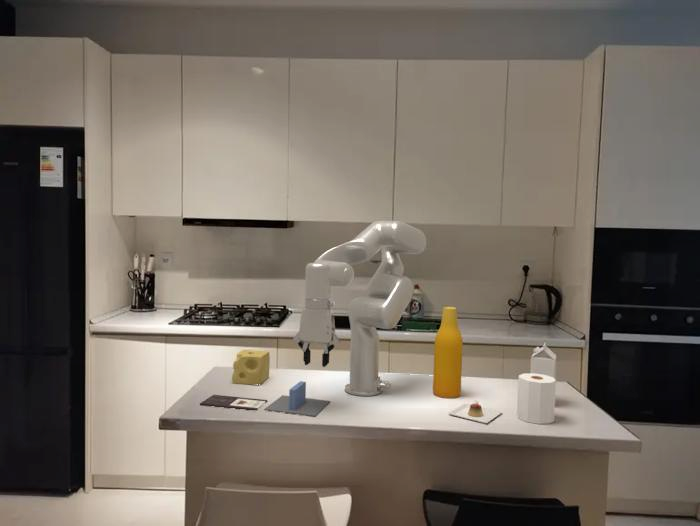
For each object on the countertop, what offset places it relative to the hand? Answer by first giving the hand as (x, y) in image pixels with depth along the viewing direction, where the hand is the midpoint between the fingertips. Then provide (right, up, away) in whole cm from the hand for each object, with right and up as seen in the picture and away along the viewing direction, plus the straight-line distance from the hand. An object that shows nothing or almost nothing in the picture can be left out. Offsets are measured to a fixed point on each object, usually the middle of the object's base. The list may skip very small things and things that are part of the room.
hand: (316, 364), depth 159 cm
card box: (-6, -13, +2) cm, 14 cm away
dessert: (+47, -15, -1) cm, 50 cm away
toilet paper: (+65, -15, -2) cm, 66 cm away
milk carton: (+72, -15, +12) cm, 74 cm away
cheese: (-24, -11, +28) cm, 39 cm away
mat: (-6, -13, +2) cm, 14 cm away
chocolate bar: (-25, -13, +3) cm, 29 cm away
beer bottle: (+42, -14, +18) cm, 48 cm away
